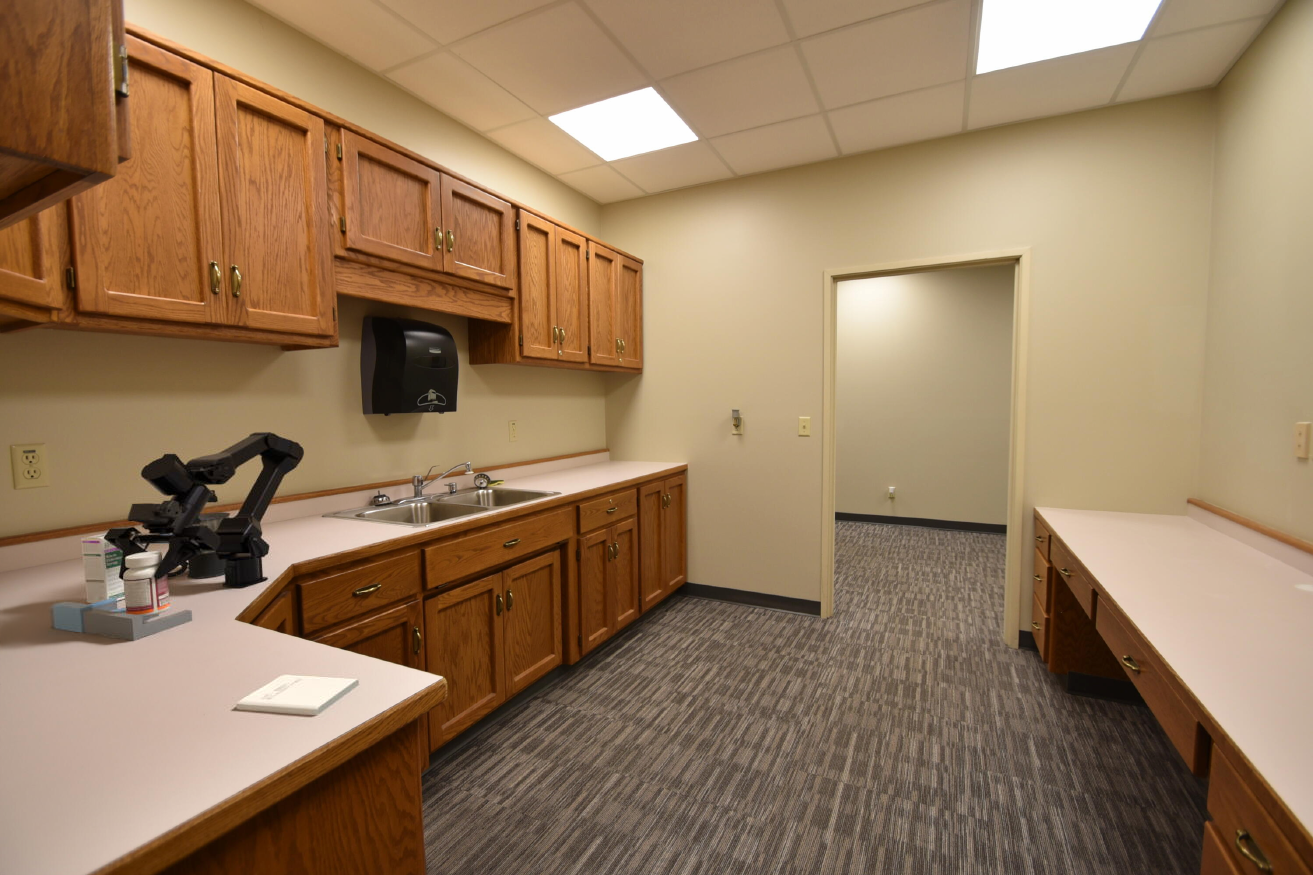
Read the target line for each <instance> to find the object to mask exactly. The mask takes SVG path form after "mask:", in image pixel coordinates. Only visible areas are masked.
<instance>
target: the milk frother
mask: <svg viewBox="0 0 1313 875" xmlns="http://www.w3.org/2000/svg"><path fill="white" fill-rule="evenodd" d="M230 515H231V513H230V512H220V511H219V512H218V511H217V512H208V513H200V514H199V516H198V518H199V519H201V522H200V524H197V525H193V526H203V525H206V526H208V527H209V528H210V529H211V530H212V531H213V532H215V531H216V530H217V529H218V527H219V525H220V522H221V521H222V520H223V519H224V518H230ZM200 550H201V549H200ZM201 551H202V550H201ZM160 563H161V562H160ZM180 566H181V568H179V569H177V570H175V571H173V572H172V571H171V572H169V573H168V574H167V577H168V579H170V578H174V577H177V576H179V575H182V574H183V573H185V572H186V571H187V572H188V573H187V577H188V578H189V579H195V580H197V579H207V578H213V577H219V576H223V575H225V572H224V568H225V567H226V560H219V559H218V557H217V554H216V552H215V551H202V553H201V554H200V555H196V556H194V557H193V558H191V559H189V560H188V561H186V562H184V563H183V564H181V565H180Z"/></svg>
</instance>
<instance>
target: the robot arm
mask: <svg viewBox="0 0 1313 875" xmlns="http://www.w3.org/2000/svg"><path fill="white" fill-rule="evenodd" d="M304 450H305V449H304V448H303V446H302V445H301V444H300V443H299V442H297V441H293V440H292V439H287V438H284V437H281V436H279V435H277V434H276V433H273V432H270V431H261V432H257V431H256V432H253V433H250V434H249V436H247V437H246V438H244V439H242V440H240V441H238V442H236V443H235V444H233V445H232V446H229V447H227V448H225V449H223V450H222V451H219V452H217V453H214V454H209V455H203V456H200V457H196V458H192V459H190V460H189V461H187V462H186V464H185V463H184V462H183V461H182V460H181V459H180V457H179V456H178V455H177V454H176V453H163V456H162V457H160V458H157V459H155V460H152V461H151V462H150V463H148V464H147V465H146V464H145V466H144V467H143V468H142V470H141V473H140V475H141V476H140V477H141V478H143V479H144V480H145V481H146V482H147V483H148V484H149V485H151V486H152V487H153V488H154V489H156V490H157V492H159V493H160V494H162V495H163V496H166V497H171V496H172V497H171V498H170V499H169V500H163V501H162V503H152V502H151V503H149V502H148V503H145V502H144V503H132V504H131V507H130V510H129V512H128V516H127V519H126V521H127V522H128V521H129V522H136V523H139V524H142V525H141V528H143V529H144V530H148V532H147V533H144V532H143V533H142V532H141V531H139V530H138V529H137V528H136V527H135V526H117V527H111V528H109V530H108V531H107V532H106V533H107V534H106V533H105V534H106V535H105V536H104V538H103V539H105V540H106V541H108V542H109V543H111V544H112V545H114V546H115V547H117V548H118V549H120V550H121V551H122V562H121V567H120V573H119V578H120V579H122V580H123V575H124V573H125V572H126V571H127V570H128V569H130V568H128V567H126V565H125V564H126V563H125V558H126V557H127V556H129V555H133V554H137V553H143V552H149V551H148V550H147V549H148V547H149V546H150V544H157V545H158V544H159V545H162V544H163V545H164V544H167V545H168V549H167V551H166V552H165V555H164V557H162V562H161V563H160V565H159V567H158V568H157V570H156V573H155V575H154V577H155V578H156V579H160V578H162V577H163V576H165V575H166V574H168V573H172V571H174V570H175V569H177V568H178V567H180V566H181V564H183V563H184V562H188V560H189V559H191V558H193V557H194V556H196V555H200V554H201V553H202V551H215V552H216V554H217V557H218V559H219V560H226V567H225V568H224V572H225V574H224V581H225V582H223V583H222V585H221V586H223V587H232V588H233V587H234V588H239V589H240V588H245V587H248V586H251V585H254V584H257V583H260V582H264V581H268V579H269V578H268V577H269V576H264V572H263V558H265V557H266V556H267V555H269V551H270V544H269V543H267V541H265V539H263V538H262V536H263V530H262V526H261V522H262V519H263V518H264V516H265V514H266V511H267V510H268V508H269V506H270V504H271V502H272V500H273V498H274V496H275V495H276V492H277V490H278V489H279V487H280V485H281V483H282V481H283V479H284V477H285V475H287V474H289V473H291V471H293V470H295V469H296V468H297V467H298V466H299V464H300V463H301V461H302V459H303V458H304V455H305V451H304ZM257 456H259V457H260V459H261V463H262V469H261V471H260V473H259V475H258V476H257V479H256V480H255V482H254V484H253V485H252V487H251V489H250V490H249V492H248V494H247V496H246V498H245V500H244V502H243V504H242V505H241V507H240V509H239V510H238V512H237V514H236V515H234V516H233V517H229V518H224V519H223V520H222V521H221V522H220V525H219V527H218V529H217V530H216V531H215V532H213V531H212V530H211V529H210V528H209V527H208V526H206V525H203V526H193V525H197V524H200V522H201V519H199V518H198V516H199V514H202V511H203V509H204V508H205V506H206V504H207V503H209V504H210V503H218V501H219V499H218V496H217V495H216V494H217V493H216V491H215V490H214V489H210V488H209V487H208V486H215V485H216V486H219V485H220V486H221V485H224V484H226V483H227V482H228V481H230V480H231V478H233V477H234V476H235V475H236V472H237V469H238V468H240V467H241V466H242V465H244V464H245V463H247V462H249V461H250V460H252V459H254V458H255V457H257ZM200 549H201V550H202V551H201V550H200Z"/></svg>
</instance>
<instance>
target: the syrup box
mask: <svg viewBox="0 0 1313 875" xmlns="http://www.w3.org/2000/svg"><path fill="white" fill-rule="evenodd" d="M106 534H107V532H106V533H101V534H95V535H92V536H86V537H82V538H80V543H81V552H82V563H83V571H84V579H85V580H84V581H85V591H86V602H87V603H88V604H92V603H95V602H99V601H103V600H106V599H110V598H116V599H117V602H119V601H121V600H125V594H124V582H123V580H122V579H120V578H119V573H120V567H121V562H122V551H121V550H120V549H118V548H117V547H115V546H114V545H112V544H111V543H109V542H108V541H106V540H105V539H103V538H104V536H105V535H106Z"/></svg>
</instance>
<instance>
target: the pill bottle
mask: <svg viewBox="0 0 1313 875" xmlns="http://www.w3.org/2000/svg"><path fill="white" fill-rule="evenodd" d="M162 560H163V554H162V551H155V550H153V551H148V552H143V553H137V554H133V555H129V556H127V557H126V558H125V563H126V564H125V565H126V567H128V568H130V569H128V570H127V571H126V572H125V573H124V575H123V582H124V594H125V599H124V602H125V607H126V613H127V614H134V615H141V616H142V617H147V616H152V615H156V614H161V613H164V612H166V611H167V610H168V609H170V606H171V605H170V604H171V602H170V592H169V580H168V579H169V578H168V577H167V574H166V575H165V576H163V577H162V578H160V579H156V578H155V577H154V575H155V573H156V570H157V568H158V567H159V565H160V562H162Z"/></svg>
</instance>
